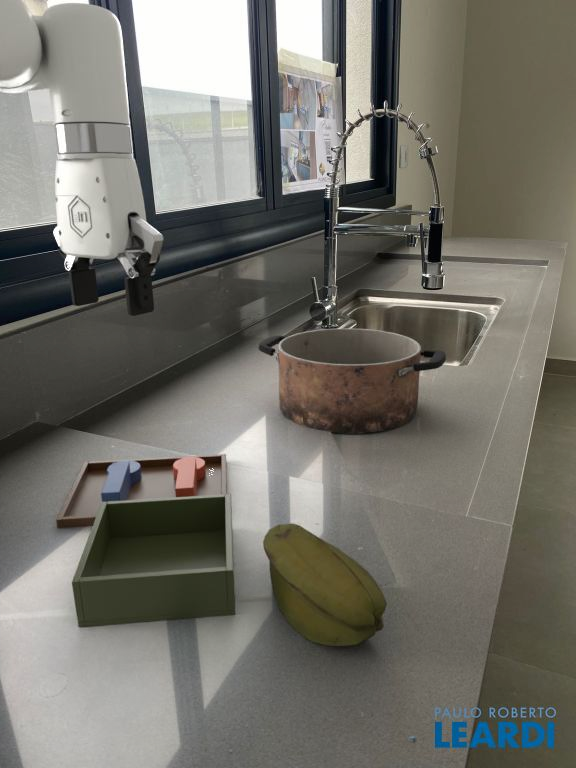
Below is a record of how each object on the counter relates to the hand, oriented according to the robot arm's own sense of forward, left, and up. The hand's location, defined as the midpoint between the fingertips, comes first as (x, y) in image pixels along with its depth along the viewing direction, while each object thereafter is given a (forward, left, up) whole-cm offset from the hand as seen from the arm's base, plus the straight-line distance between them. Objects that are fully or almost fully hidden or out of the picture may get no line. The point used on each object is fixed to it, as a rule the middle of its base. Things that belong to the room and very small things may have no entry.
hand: (112, 308), depth 68 cm
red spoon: (+7, -3, -22) cm, 23 cm away
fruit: (+20, -26, -22) cm, 39 cm away
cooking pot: (+32, +22, -22) cm, 45 cm away
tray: (+3, -3, -22) cm, 22 cm away
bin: (+6, -19, -22) cm, 30 cm away
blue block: (-1, -3, -22) cm, 22 cm away
